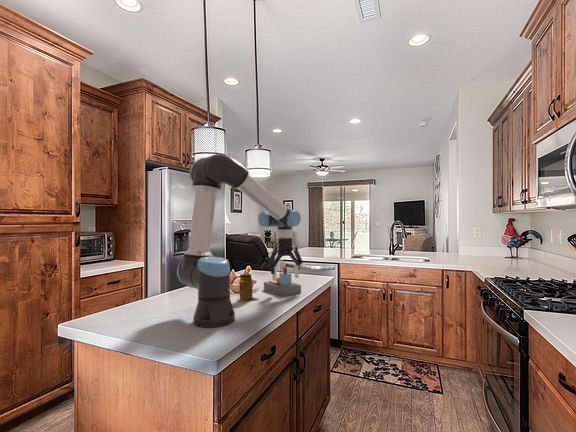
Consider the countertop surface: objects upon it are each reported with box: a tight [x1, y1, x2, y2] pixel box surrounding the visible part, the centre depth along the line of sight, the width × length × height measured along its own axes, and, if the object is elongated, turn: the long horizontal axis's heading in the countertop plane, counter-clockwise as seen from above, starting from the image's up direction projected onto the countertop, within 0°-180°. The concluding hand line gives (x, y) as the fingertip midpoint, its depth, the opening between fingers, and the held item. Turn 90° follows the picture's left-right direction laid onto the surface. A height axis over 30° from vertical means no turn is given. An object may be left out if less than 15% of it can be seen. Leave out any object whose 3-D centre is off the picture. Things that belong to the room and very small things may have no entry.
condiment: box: [236, 273, 259, 303], centre depth 148 cm, size 7×8×12 cm
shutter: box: [268, 276, 279, 284], centre depth 167 cm, size 8×8×3 cm
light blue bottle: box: [278, 266, 292, 286], centre depth 161 cm, size 4×4×12 cm
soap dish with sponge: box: [263, 281, 302, 297], centre depth 164 cm, size 18×12×4 cm, turn 32°
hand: (285, 279), depth 161 cm, fingers open, 13 cm apart
